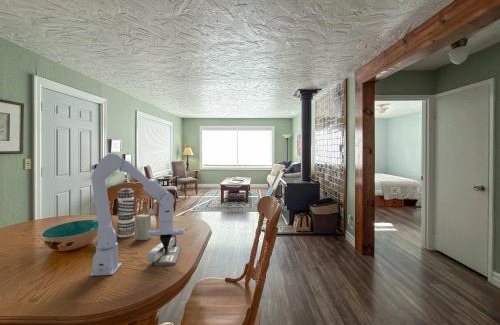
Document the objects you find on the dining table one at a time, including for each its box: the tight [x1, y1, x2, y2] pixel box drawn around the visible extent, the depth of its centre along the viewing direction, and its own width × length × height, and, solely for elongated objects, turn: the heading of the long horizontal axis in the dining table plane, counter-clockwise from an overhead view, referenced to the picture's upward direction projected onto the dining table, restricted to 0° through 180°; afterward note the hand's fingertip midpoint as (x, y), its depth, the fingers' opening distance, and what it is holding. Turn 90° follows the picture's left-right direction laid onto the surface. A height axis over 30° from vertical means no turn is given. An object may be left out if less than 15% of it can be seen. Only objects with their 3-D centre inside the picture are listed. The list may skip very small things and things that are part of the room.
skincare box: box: [135, 214, 152, 241], centre depth 137 cm, size 6×4×12 cm
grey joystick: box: [172, 235, 180, 247], centre depth 125 cm, size 5×5×6 cm
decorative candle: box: [116, 187, 136, 238], centre depth 143 cm, size 9×9×25 cm
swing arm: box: [146, 237, 175, 263], centre depth 113 cm, size 20×3×3 cm, turn 174°
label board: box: [153, 246, 182, 267], centre depth 114 cm, size 18×8×1 cm, turn 8°
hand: (166, 252), depth 111 cm, fingers closed
